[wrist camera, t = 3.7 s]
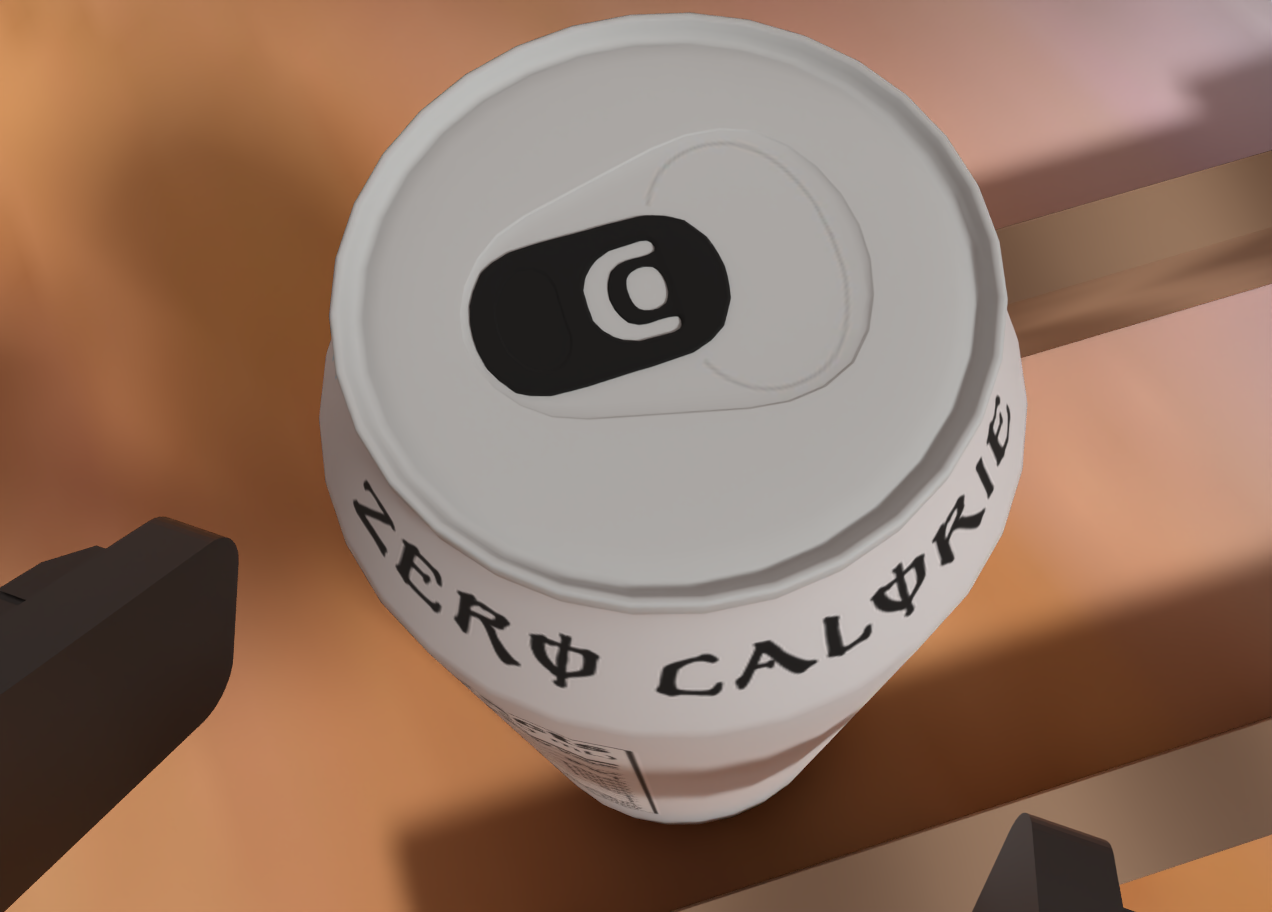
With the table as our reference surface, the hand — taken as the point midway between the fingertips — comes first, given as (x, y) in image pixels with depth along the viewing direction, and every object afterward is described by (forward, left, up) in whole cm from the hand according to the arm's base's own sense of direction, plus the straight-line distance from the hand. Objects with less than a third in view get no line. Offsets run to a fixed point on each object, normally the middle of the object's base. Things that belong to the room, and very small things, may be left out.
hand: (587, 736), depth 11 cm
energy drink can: (-2, -2, -11) cm, 11 cm away
